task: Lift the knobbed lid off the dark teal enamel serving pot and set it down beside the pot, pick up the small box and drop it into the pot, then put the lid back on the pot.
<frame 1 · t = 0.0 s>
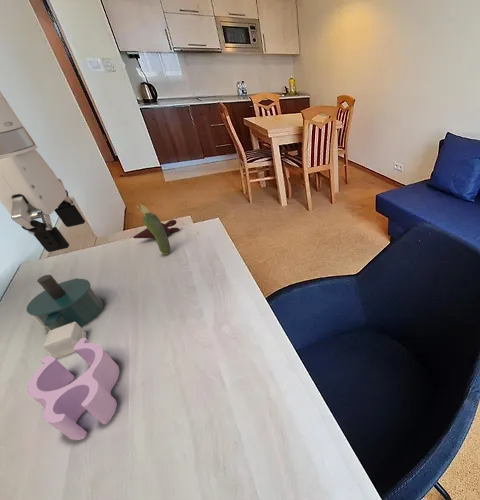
hand: (68, 236, 57), 31 cm above the table, tool pointing down, fingers open, 9 cm apart
small box: (72, 346, 75), on the table
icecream: (160, 238, 116), on the table
pot: (77, 316, 84), on the table
vegetable: (169, 254, 106), on the table
pot lid: (60, 296, 79), point 7 cm above the table, touching pot
clip: (89, 396, 64), on the table
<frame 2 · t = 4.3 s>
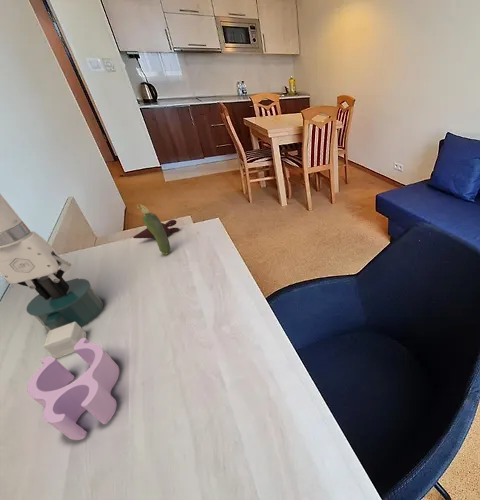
hand: (57, 293, 79), 9 cm above the table, tool pointing down, fingers closed on pot lid, 2 cm apart
pot lid: (60, 296, 79), point 8 cm above the table, touching gripper, pot
everything else where it was.
when the fingers open (2 cm above the table, at t = 11.7 s): pot lid stays where it is, point 1 cm above the table.
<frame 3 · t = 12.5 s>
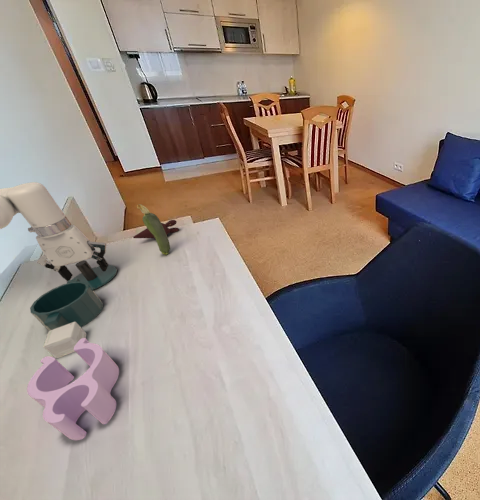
hand: (88, 273, 95), 3 cm above the table, tool pointing down, fingers open, 9 cm apart
pot lid: (93, 279, 96), point 1 cm above the table
everything else where it was.
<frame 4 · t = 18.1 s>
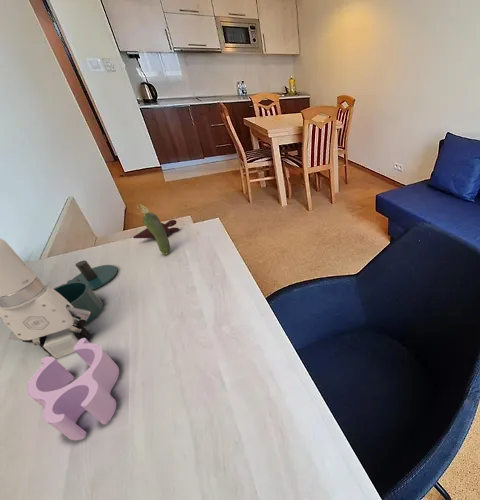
hand: (70, 344, 75), 1 cm above the table, tool pointing down, fingers closed on small box, 6 cm apart
small box: (72, 346, 75), on the table, touching gripper
everything else where it was.
when the fingers open (6 cm above the table, at t = 23.5 s): small box drops 5 cm, resting on pot.
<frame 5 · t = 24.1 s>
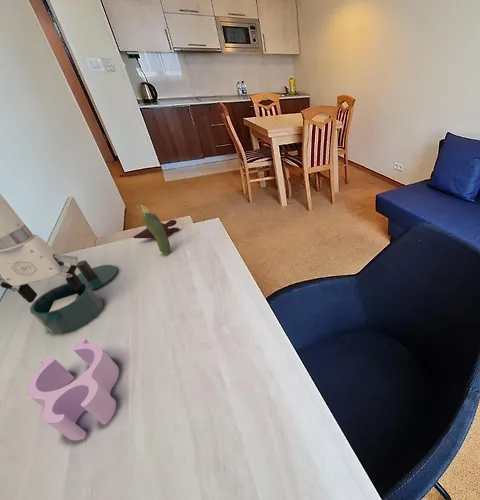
hand: (56, 292, 78), 9 cm above the table, tool pointing down, fingers open, 9 cm apart
small box: (74, 316, 83), resting on pot
everything else where it was.
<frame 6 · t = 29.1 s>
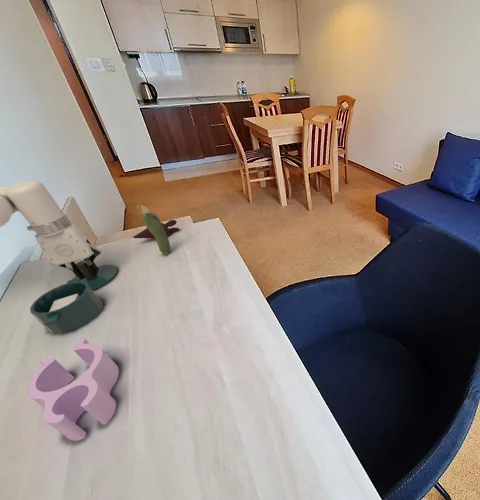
hand: (89, 274, 95), 2 cm above the table, tool pointing down, fingers closed on pot lid, 2 cm apart
pot lid: (92, 279, 96), point 1 cm above the table, touching gripper
everything else where it was.
when the fingers open (9 cm above the table, at t = 36.1 s): pot lid stays where it is, resting on pot.
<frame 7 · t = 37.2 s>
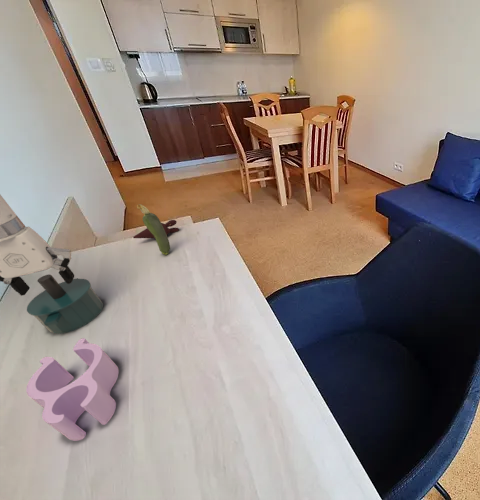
hand: (49, 286, 78), 11 cm above the table, tool pointing down, fingers open, 9 cm apart
pot lid: (60, 296, 79), point 7 cm above the table, touching pot
everything else where it was.
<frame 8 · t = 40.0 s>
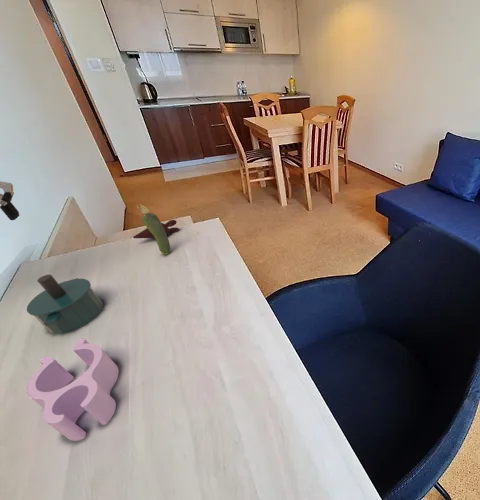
nothing on the table moved.
at the end: small box inside the target area in the pot (0.5 cm from its centre), point 0.3 cm above the pot's base; pot lid 0.0 cm off-centre on the pot, point 7.5 cm above the pot's base; pot lid tilted 0° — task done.
